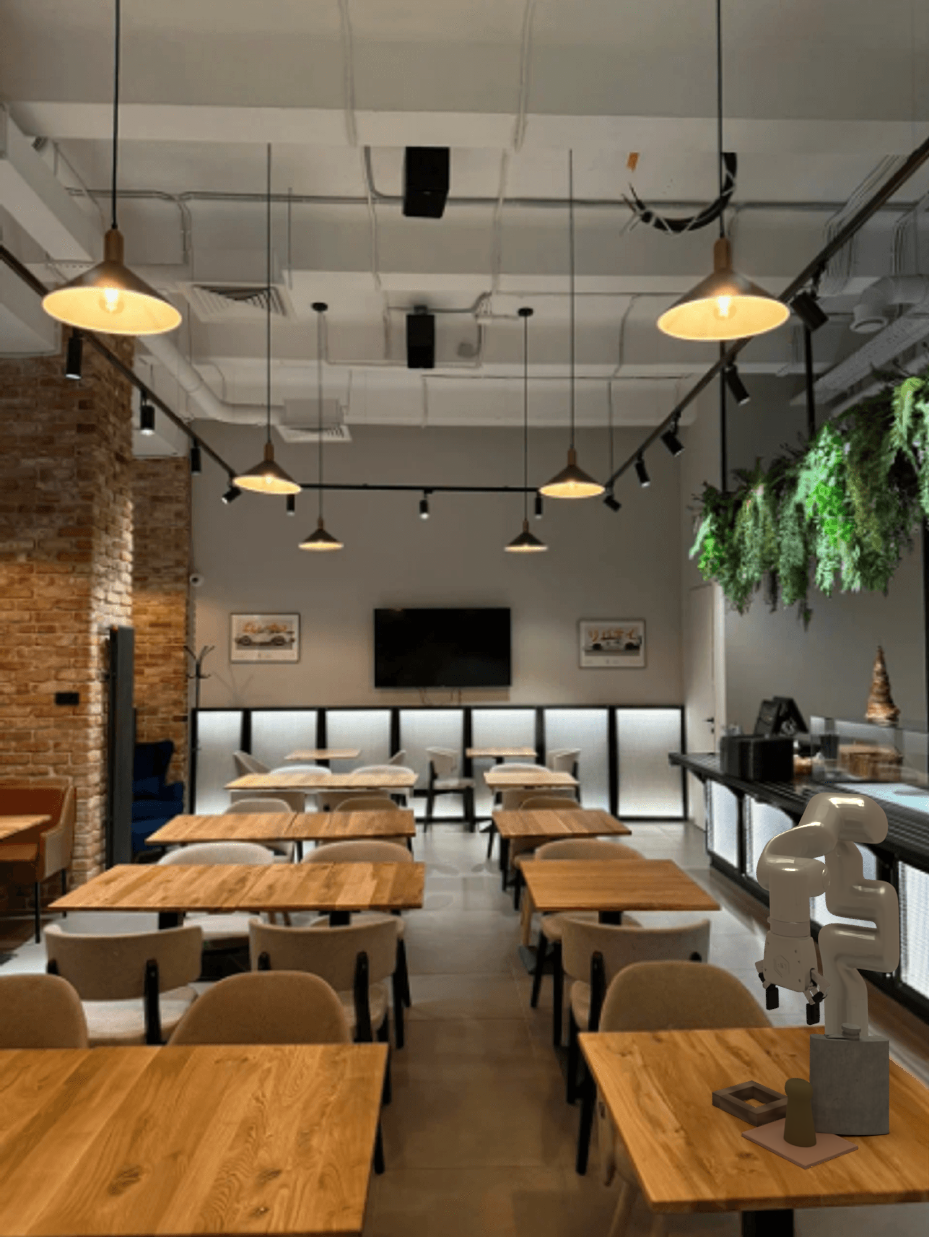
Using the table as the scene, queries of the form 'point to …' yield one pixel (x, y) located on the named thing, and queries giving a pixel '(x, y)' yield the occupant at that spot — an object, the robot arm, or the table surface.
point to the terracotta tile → (801, 1156)
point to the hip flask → (850, 1082)
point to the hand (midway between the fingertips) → (792, 1016)
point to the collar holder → (757, 1116)
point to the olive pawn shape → (799, 1114)
